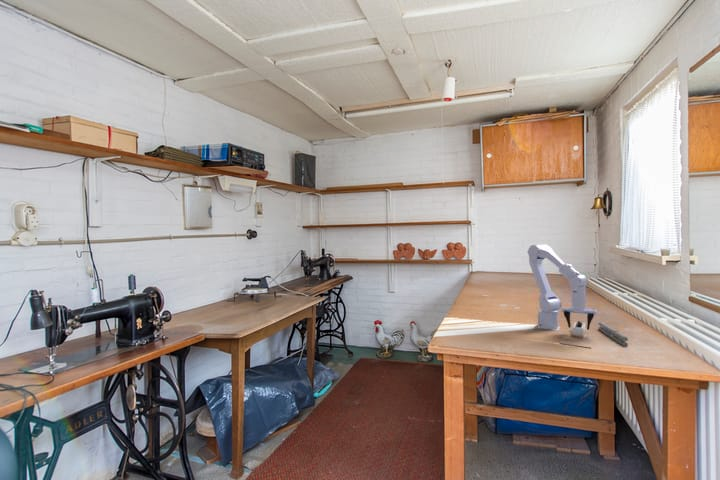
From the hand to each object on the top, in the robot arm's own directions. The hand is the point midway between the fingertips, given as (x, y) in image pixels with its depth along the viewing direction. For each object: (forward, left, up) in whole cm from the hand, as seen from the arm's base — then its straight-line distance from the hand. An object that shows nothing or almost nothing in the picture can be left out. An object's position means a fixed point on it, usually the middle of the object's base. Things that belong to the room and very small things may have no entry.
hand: (578, 328), depth 174 cm
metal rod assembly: (+13, +4, -4) cm, 14 cm away
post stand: (0, +3, -4) cm, 5 cm away
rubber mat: (0, -12, -4) cm, 13 cm away
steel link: (0, +3, -3) cm, 4 cm away
